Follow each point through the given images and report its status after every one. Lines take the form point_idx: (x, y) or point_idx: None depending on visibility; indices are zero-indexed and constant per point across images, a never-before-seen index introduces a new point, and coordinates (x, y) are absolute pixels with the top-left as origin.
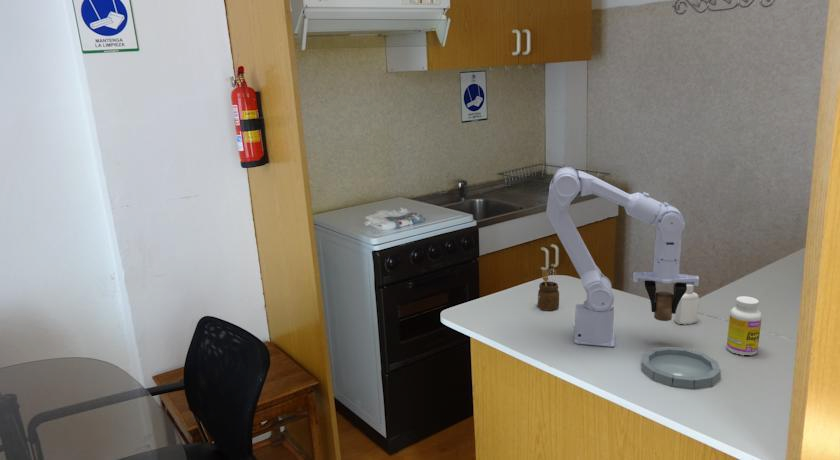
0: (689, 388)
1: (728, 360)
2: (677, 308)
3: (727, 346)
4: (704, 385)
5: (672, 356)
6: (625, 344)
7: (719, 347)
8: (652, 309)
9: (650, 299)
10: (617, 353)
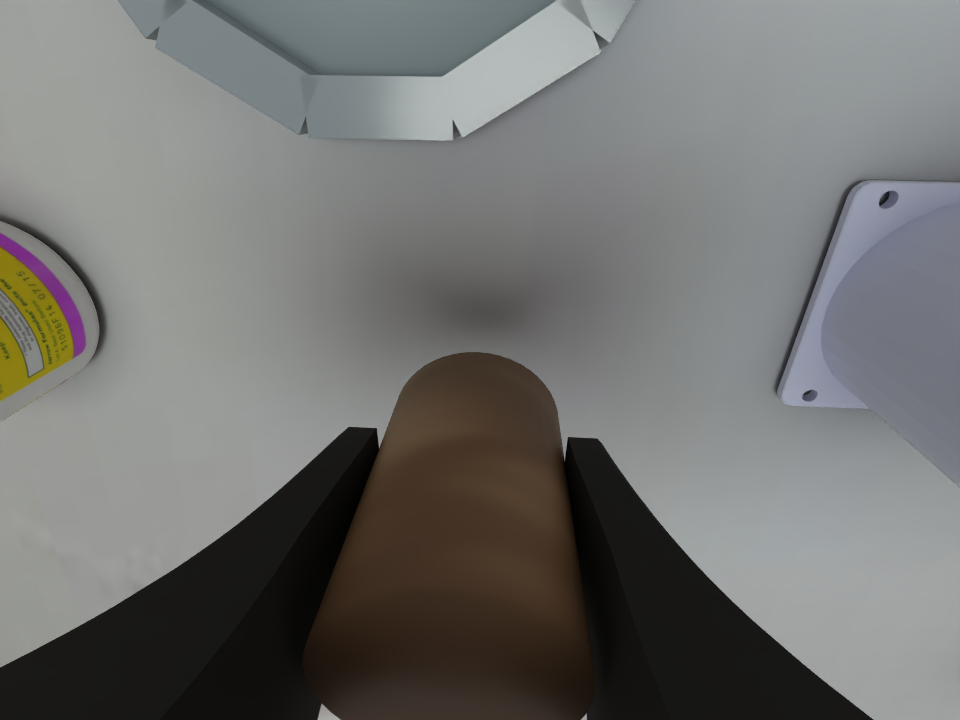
0: None
1: (50, 122)
2: None
3: (76, 297)
4: None
5: (422, 30)
6: (736, 259)
7: (146, 320)
8: (604, 454)
9: (689, 561)
10: (858, 67)
